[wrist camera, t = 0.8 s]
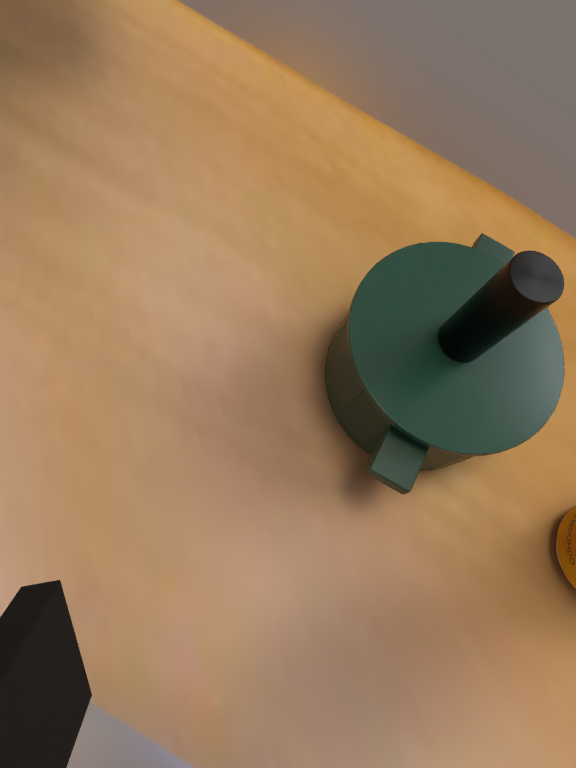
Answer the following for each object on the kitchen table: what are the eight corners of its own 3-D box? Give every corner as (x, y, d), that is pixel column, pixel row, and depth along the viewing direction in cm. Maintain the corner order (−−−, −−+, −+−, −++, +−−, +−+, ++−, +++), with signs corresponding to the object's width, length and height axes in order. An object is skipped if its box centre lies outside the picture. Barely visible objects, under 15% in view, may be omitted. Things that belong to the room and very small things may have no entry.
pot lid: (303, 382, 29) (347, 314, 21) (397, 216, 33) (460, 112, 26) (512, 502, 28) (631, 477, 21) (577, 319, 33) (693, 245, 26)
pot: (272, 446, 33) (292, 419, 27) (385, 246, 39) (421, 188, 33) (441, 544, 33) (497, 538, 27) (527, 327, 39) (588, 283, 33)
